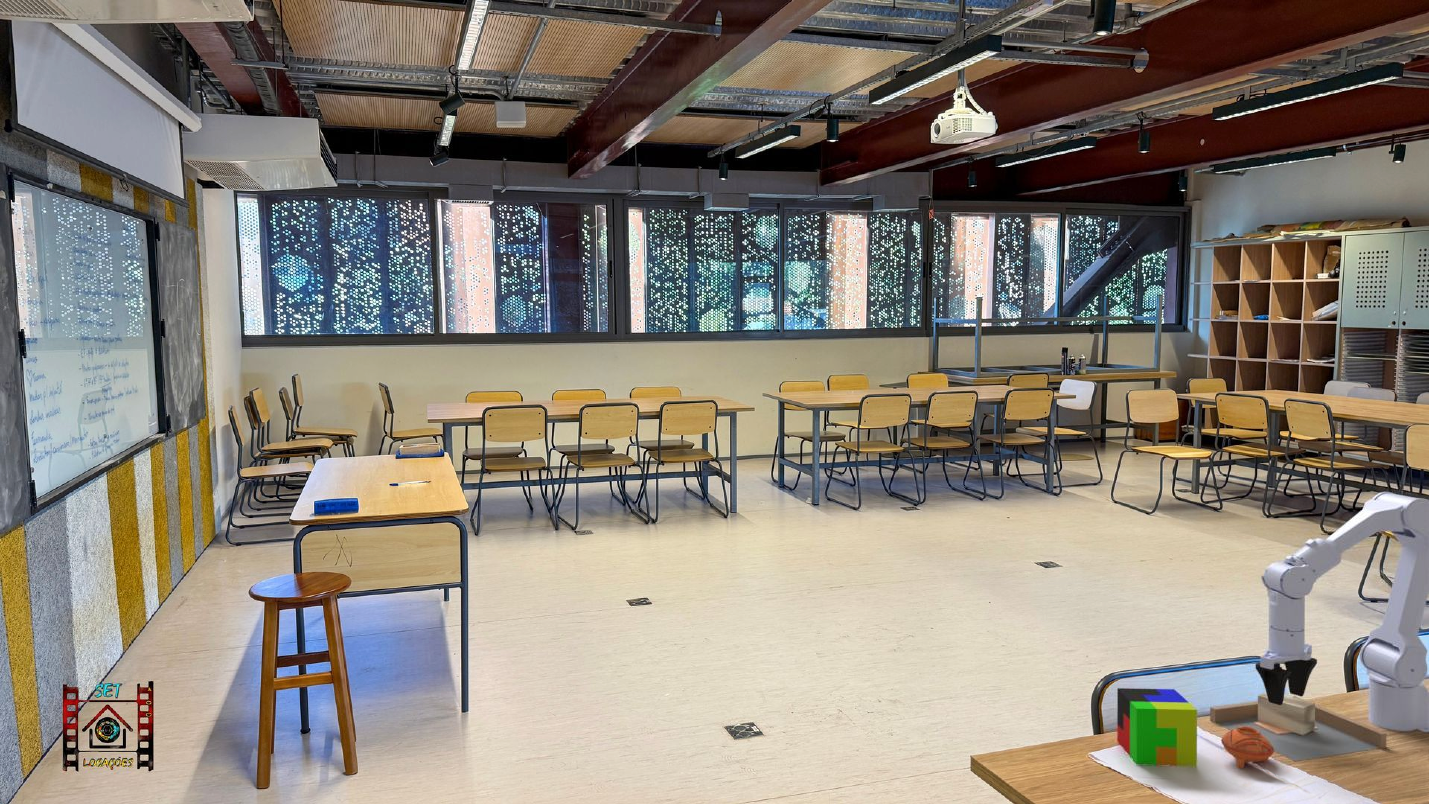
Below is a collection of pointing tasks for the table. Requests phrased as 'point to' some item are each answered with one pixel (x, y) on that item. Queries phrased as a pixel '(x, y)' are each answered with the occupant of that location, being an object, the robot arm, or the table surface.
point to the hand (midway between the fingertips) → (1286, 699)
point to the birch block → (1287, 714)
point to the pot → (1247, 745)
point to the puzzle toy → (1157, 726)
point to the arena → (1325, 740)
